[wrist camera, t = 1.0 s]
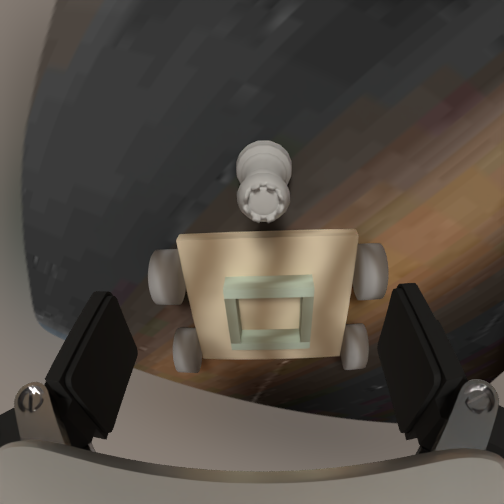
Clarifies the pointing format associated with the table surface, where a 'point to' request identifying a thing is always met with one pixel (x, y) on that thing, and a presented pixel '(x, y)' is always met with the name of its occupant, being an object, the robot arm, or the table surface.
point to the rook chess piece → (263, 181)
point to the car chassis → (269, 294)
